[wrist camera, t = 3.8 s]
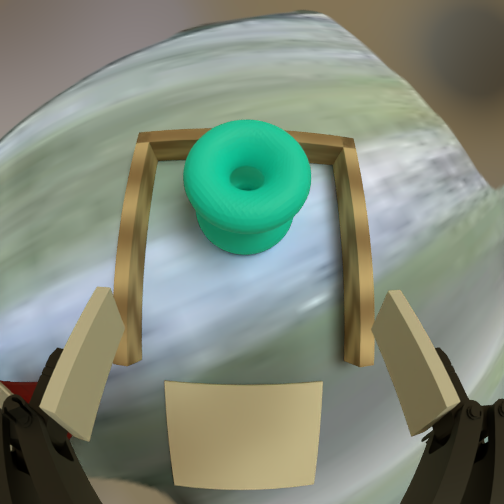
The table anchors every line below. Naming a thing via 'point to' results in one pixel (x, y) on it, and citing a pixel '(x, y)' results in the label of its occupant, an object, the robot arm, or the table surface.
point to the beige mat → (243, 434)
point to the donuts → (246, 184)
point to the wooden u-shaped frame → (351, 228)
